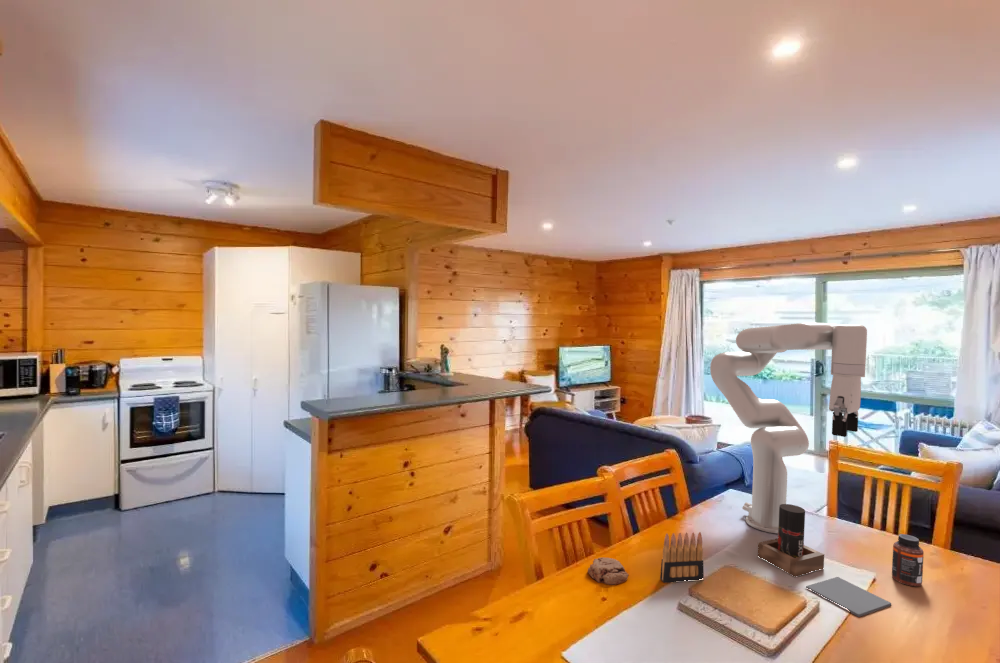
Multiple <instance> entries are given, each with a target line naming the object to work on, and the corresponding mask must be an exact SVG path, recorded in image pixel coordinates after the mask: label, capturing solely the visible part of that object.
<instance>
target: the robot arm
mask: <svg viewBox="0 0 1000 663" xmlns="http://www.w3.org/2000/svg"><path fill="white" fill-rule="evenodd" d="M735 343H736V346H737V348H738V349H739V350H740V351H725V352H721V353H718V354H716V355H714V357H713V358H712V359H711V361H710V367H709V370H710V376H711V378H712V382H713V383H714V385H715V386H716V388H718V390H719V391H720V393H721V394H722V395H723V396H724V398H726V400H727V402H728V403H729V405H730V407H731V408H732V410H733V411H734V412H735V414H736V415H737V417H738V419H739V421H740V422H741V424H742V425H743V426H745V427H746V428H749V429H756V430H754V431H753V432H752V435H751V437H750V447H751V451H752V452H751V453H752V458H753V459H752V462H753V464H752V465H753V469H752V490H751V491H752V494H751V503H749V502H745V503H744V505H743V506H742V507H741V508H742V511H743V510H744V511H746V512H748V513H747V514H748V515H746V517H745V522H746V523H747V525H749V526H750V527H752V528H754V529H756V530H758V531H761V532H766V533H770V534H778V528H779V506H780V505H781V504H787V496H788V495H787V493H788V490H787V489H788V470H787V466H786V464H785V462H784V460H783V458H785V457H795V456H800V455H803V454H804V453H806V452H807V450H808V449H809V445H810V443H809V442H810V441H809V438H808V435H807V433H806V431H805V430H804V429H803V427H802V425H800V423H799V422H798V421H797V419H796V418H795V417H794V415H793V414H792V413H791V411H790V409H788V407H787V406H786V405H785V404H784V403H783V402H781V401H779V400H777V399H773V398H763V399H762V398H759V397H758V395H756V394H755V393H754V391H753V390H752V388H751V387H750V385H748V383H746V382H745V381H743V380H742V379H740V378H739V377H749V376H750V377H751V376H756V375H758V374H760V373H761V372H762V371H763V370H764V369H765V368H766V367H767V365H768V364H769V363H770V362H771V361H772V359H773V358H775V356H777V355H776V354H778V353H784V352H786V351H792V350H793V351H796V350H797V351H798V350H801V351H802V350H807V351H809V350H822V351H823V350H825V351H826V350H827V351H828V350H830V351H831V361H830V362H831V363H830V375H831V376H832V379H831V384H830V392H829V394H830V395H829V401H828V402H829V404H828V410H829V411H830V412H832V422H831V424H832V425H831V434H832V436H835V437H836V436H838V437H843V438H846V437H847V436H848V435H847V434H848V432H855V433H857V432H858V429H859V410H860V408H861V398H862V397H861V396H862V387H861V386H862V379H861V378H865V377H866V363H867V362H866V361H867V343H868V329H867V328H866V326H864V325H861V324H837V323H829V322H827V323H826V322H799V323H789V324H777V325H770V326H769V325H768V326H759V327H750V328H749V327H748V328H745V329H743V330H741V331H740V332H738V334H736V338H735Z"/></svg>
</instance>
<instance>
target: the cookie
mask: <svg viewBox="0 0 1000 663" xmlns="http://www.w3.org/2000/svg"><path fill="white" fill-rule="evenodd" d="M587 573H588V574H589V576H590V578H592V579H593V580H595V581H596V582H597V583H602V584H605V585H611V586H614V585H615V586H616V585H618V584H621V583H624V582H626V581H627V580H628V576H629V573H627V571H626V570H625V567H624V566H623V564H622V563H621V562H620V561H619V560H617V559H616V558H612V557H611V558H610V557H597V558H594V559H593V561H592V564H590V565H589V567H588V568H587Z"/></svg>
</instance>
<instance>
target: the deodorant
mask: <svg viewBox="0 0 1000 663" xmlns="http://www.w3.org/2000/svg"><path fill="white" fill-rule="evenodd" d="M805 524H806V510H805V509H804V508H803V507H800V506H798V505H795V504H790V503H786V504H781V505H780V506H779V528H778V533H777V538H778V550H779V551H781V552H783V553H785V554H787V555H789V556H791V557H793V558H796V557H800V556H803V549H804V545H805Z"/></svg>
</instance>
